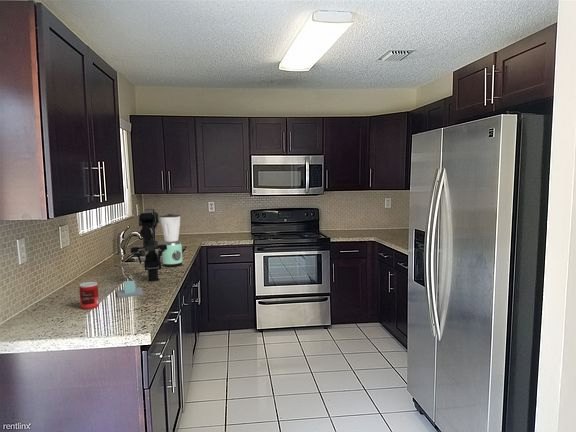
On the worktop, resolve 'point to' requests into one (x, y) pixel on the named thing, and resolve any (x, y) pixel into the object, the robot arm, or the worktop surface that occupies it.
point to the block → (129, 287)
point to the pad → (122, 293)
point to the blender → (171, 240)
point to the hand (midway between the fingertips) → (149, 263)
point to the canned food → (89, 295)
